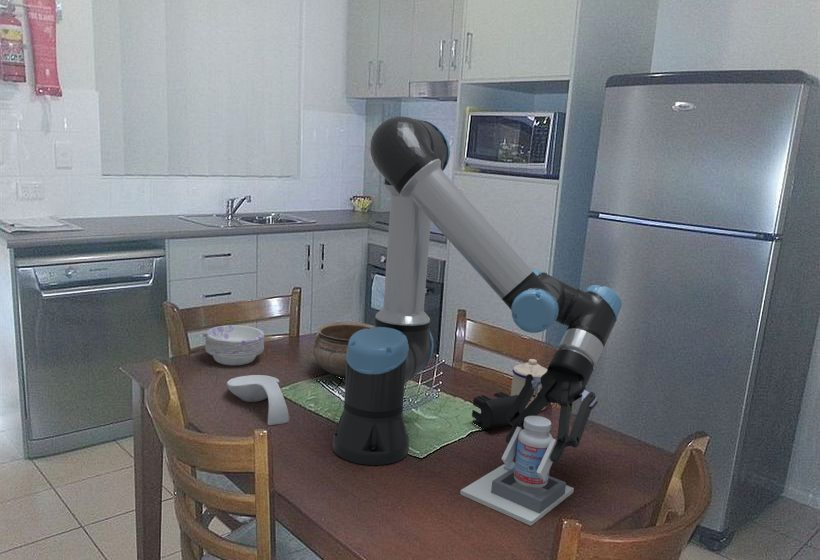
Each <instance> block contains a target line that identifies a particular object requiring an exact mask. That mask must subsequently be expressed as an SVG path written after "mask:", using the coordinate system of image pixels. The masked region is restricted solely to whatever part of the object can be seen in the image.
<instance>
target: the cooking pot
mask: <svg viewBox="0 0 820 560" xmlns="http://www.w3.org/2000/svg"><path fill="white" fill-rule="evenodd" d="M371 327H375V325H373V324H367V323H364V322H363V323H362V322H355V321H354V322H353V321H352V322H351V321H338V322H337V321H336V322H335V321H334V322H328V323H324V324H321V325H319V326H318V327H316V330H317V333H316V334H315V341H314V345H313V351H312V353H313V356H314V360H315V361H316V363H317V365H318V366H319V367H320V368H321V369H323V370H324V371H326V372H328V373H329V374H331V375H333V376H335V377H336V376H337V377H340V378H344V379H345V378H346V352H347V349H348V342H349V339H350V338H351V336H352V335H353V334H354V333H356V332H357V331H359V330H362V329H370V328H371ZM337 377H336V378H337ZM340 378H339V379H340Z"/></svg>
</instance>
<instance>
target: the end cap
mask: <svg viewBox="0 0 820 560" xmlns="http://www.w3.org/2000/svg"><path fill="white" fill-rule="evenodd" d="M493 396H494V397H496V398H491V397H488V396H486V395H477V396H474V398H473V400H472V401H473V402H472V406H475V407H476V408H478V409H479V410H480V412H478V411H477V410H475V409H472V411H471V417H472V418H473V420H471V421H472V422H473V423H474V424H476V425H478V426H479V427H481V428H482V429H481V428H480V429H481V430H483V431H487V430H491V429H496V428H500V427H504V426H509V425H510V423H509V422H508V420H507V418H506V415H507V414H508V412H509V410H510V409H511V407H512V405H513V403H514V402H515V400H516V398H517V397H518V395H514V396H511V395H509V394H507V393H505V392H503V391H500V392H495V393H493ZM524 410H525V409H524ZM472 422H471V423H472ZM473 423H472V424H473ZM474 424H473V425H474ZM476 425H475V426H476ZM510 426H511V425H510ZM479 427H478V428H479Z"/></svg>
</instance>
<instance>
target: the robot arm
mask: <svg viewBox="0 0 820 560" xmlns="http://www.w3.org/2000/svg"><path fill="white" fill-rule="evenodd" d="M369 150H370V156H371V159H372V162H373V164H374V166H375V167H376V169H377V171H378V172H379V173H380V174H381V176H382V177H383V178H384V185H383V187H384V188H386V190H387V191H388V193H390V207H389V221H388V233H387V234H388V236H387V250H386V262H385V263H386V264H385V276H384V277H385V278H384V280H385V281H384V289H383V290H384V291H383V293H384V295H383V307H382V308H381V309H380V310H379V311H378V312H376V314H375V317H374V318H375V320H374V326H375V327H371V328H370V329H362V330H359V331H357V332H356V333H354V334H353V335H352V336H351V338H350V339H349V342H348V349H347V352H346V378H345V380H344V401H343V410H342V413H341V415H340V418H339V420H338V423H337V426H336V428H335V431H334V432H333V436H332V450H333V452H334V453H335V454H336V455H337V456H338V457H340V458H342V459H343V460H346V461H349V462H351V463H355V464H358V465H359V464H360V465H365V466H366V465H368V466H369V465H371V466H380V465H381V466H382V465H383V466H384V465H389V464H394V463H397V462H398V461H401V460H403V459H404V458H406V457H407V456H408V454H409V448H410V437H409V435H408V433H407V427H406V421H405V417H404V401H405V389H406V388H405V387H406V384H407V383H408V382H409V381H410V380H412V378H414V377H416V375H418V374H419V373H421V371H423V370H424V369H425V367H426V366H427V365H428V364H429V362H430V360H431V358H432V356H433V352H434V348H435V347H434V338H433V335H432V333H431V331H430V325H431V318H430V317H429V316H428V314H427V313H426V312H425V299H426V286H427V275H428V262H429V261H428V259H429V251H430V250H429V249H430V237H431V227H432V226H431V225H432V224H433V225H435V227H436V228H437V229H438V230H439V232H441V233H442V235H444V237H445V238H446V239H447V240H448V241H449V242H450V243H451V244H452V246H453V248H455V249H456V250H457V251H458V252H459V254H460V255H462V256H463V258H464V260H466V261H467V263H468V264H470V266H471V267H472V268H473V269H474V270H475V272H477V274H478V275H480V277H481V278H482V279H483V281H484V282H486V283H487V285H489V287H490V288H491V289H492V290H493V291H494V292H495V293H496V295H497V296H498V297H499V298H500V299H501V300H502V301H503V303H505V304H506V306H507V307H508V308H509V310H511V318H512V319H513V322H514V323H515V325H516V326H517V327H518V328H519V329H521V330H522V331H524V332H526V333H531V334H537V333H541V332H544V331H545V330H547V329H549V328H550V327H551V326H553V325H554V324H555V322H557V323H559V324H561V325H563V326H565V327H567V328H566V331H565V332H564V334H563V337H562V338H561V340H560V342H559V344H558V346H557V349H556V351H555V352H554V354H553V356H552V357H551V360H550V362H549V363H548V364H549V365H548V367H547V369H548V370H547V372H546V373H545V374H543V375H542V376H541V377H533V376H532V375H531V374H528V375H527V376H526V380H525V385H524V387H523V388H522V390H521V392H520V393H519V395H518V397H517V398H516V400H515V402H514V403H513V405H512V407H511V409H510V410H509V412H508V414H507V415H506V418H507V420H508V422H509V423H510V426H511V428H510V430H509V433H508V435H507V436H506V439H505V440H506V441H505V442H506V444H507V447H506V448H505V450H504V453H503V455H502V456H501V460H502V463H504V464H505V465H506V466H509V467H510V465H511V463H512V462H514V461H513V460H514V459H515V458H516V451H517V443H518V435H519V433H520V431H521V430H523V429H525V428H524V425H523V424H524V419H525V417H527V416H539V414H540V413H541V410H542V409H543V408H544V407H545V406H546V407H548V406H549V405H550V404H551V403H552V404H557V405H559V406H560V411H559V417H558V418H559V419H558V426H557V427H558V429H557V435H555V437H556V439H555V438H553V439H551V442H550V444H549V446H548V448H547V450H546V452H545V454H544V457H543V459H542V461H541V463H540V465H539V467H538V469H537V474H538V476H539V477H540V479H542V480H545V478H546V476H547V474H548V472H549V473H550V470H551V467H552V464H553V463H555V464H557V463H559V462H560V459H561V458H562V456H563V453H564V451H565V449H566V448H567V447H573V448H578V447H579V446H580V443H581V442H580V441H581V440H582V437H583V434H584V431H585V428H586V426H587V423H588V420H589V418H590V415H591V412H592V410H593V409H594V408H595V407H596V405H597V404H598V403H599V401H598V399H597V396H596V394H595V393H594V392H593V391H591V392H589V391H588V390H587V389H586V386H587V385H588V383H589V382H590V378H591V377H592V375H593V372H594V367H596V365H597V363H598V360H599V359H600V357H601V354H602V352H603V350H604V347H605V345H606V344H607V341H608V339H609V338H610V336H611V333H612V331H613V330H614V326H615V324H616V322H617V321H618V317H619V315H620V311H621V309H622V306H623V305H622V304H623V303H622V299H621V297H620V296H619V294H618V293H617V292H616V291H615V290H613V289H612V288H610V287H608V286H605V285H602V286H601V285H599V284H594V285H590V286H588V287H587V289H585V290H583V289H579V288H577V287H575V286H573V285H571V284H569V283H568V282H567V283H566V282H565V281H562V280H561V279H558V278H556V277H555V276H553V275H550V274H548V273H547V272H545V271H541V270H538V269H536V268H532V267H530V266H529V265H528V264H527V262H526V261H525V260H524V259H523V258H522V257H521V256H520V255H519V254H518V252H517V251H516V250H515V249H514V248H513V247H512V246H511V245H510V244H509V243H508V242H507V240H506V238H504V237H503V236H502V234H500V233H499V232H498V230H496V228H495V227H494V226H493V225H492V224H491V223H490V222H489V221H488V219H487V218H486V217H485V216H484V215H483V214H482V212H481V211H480V210H478V208H477V207H476V206H475V205H474V204H473V203H472V202H471V200H470V199H468V197H467V196H466V195H465V194H464V193H463V192H462V190H460V188H459V187H458V186H457V185H456V184H455V183H454V182H453V180H452V179H450V177H449V176H448V175H447V174H446V173H445V172H444V171H445V170H446V168H447V166H448V164H449V160H450V156H451V149H450V143H449V140H448V137H446V134H445V133H444V132H443V130H441V129H440V128H439V127H438V126H436V125H435V124H433V123H432V122H430V121H427V120H421V119H417V118H412V117H408V116H394V117H390V118H388V119H386V120H384V121H382V122H381V123H380V124H379V126H377V127H376V129H375V131H374V132H373V134H372V137H371V140H370V149H369ZM540 384H541V385H542V389H541V390H540V391H539V392H538V394H537V397H536V398H535V399H534V400H533V401H532V402H531V403H530V404H529V405H528V406H527V404H528V402H529V401H530V399H531V397H532V395H533V393H534V390H536V389H537V388H538V386H539V385H540ZM579 399H581V402H580V405H579V408H578V410H577V414H576V416H575V419H574V421H573V424H572V427H571V430H570V422H571V414H572V412H573V403H574V402H576V401H577V400H579ZM526 406H527V407H526ZM525 407H526V409H525ZM546 407H545V408H546ZM524 409H525V410H524ZM542 411H543V410H542ZM569 432H570V433H569ZM549 469H550V470H549Z"/></svg>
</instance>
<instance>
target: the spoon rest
mask: <svg viewBox="0 0 820 560" xmlns="http://www.w3.org/2000/svg"><path fill="white" fill-rule="evenodd" d="M279 385H280V379H278V378H277V377H275V376H271V375H265V374H264V375H263V374H249V375H240V376H236V377H233V378H230V379H229V380H228V381H227V382H226V386H227V387H228V389H229V391H230V392H231V393H232V394H233V395H234V396H236V397H238V398H239V399H240V400H241V401H244V402H250V403H254V402H255V403H256V402H262V401H265V400H266V399H267V402H268V411H267V412H268V413H267V426H277V425H283V424H287V423H289V422H290V415H289V410H288V406H287V403H286V400H285V397H284V395H283V394H284V393H283V392H282V390H281V388H280V386H279Z"/></svg>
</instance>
